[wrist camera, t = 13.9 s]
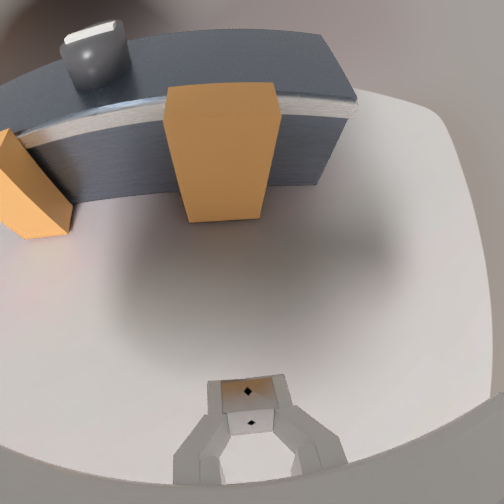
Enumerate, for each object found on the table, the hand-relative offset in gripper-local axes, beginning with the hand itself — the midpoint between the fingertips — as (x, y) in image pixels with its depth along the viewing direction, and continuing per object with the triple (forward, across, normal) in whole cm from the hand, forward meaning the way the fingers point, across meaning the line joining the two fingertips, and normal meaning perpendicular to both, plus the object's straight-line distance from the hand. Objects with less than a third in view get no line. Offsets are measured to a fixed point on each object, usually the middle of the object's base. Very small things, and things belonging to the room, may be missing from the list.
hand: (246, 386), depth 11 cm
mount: (+17, +8, -7) cm, 20 cm away
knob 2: (+17, 0, -8) cm, 19 cm away
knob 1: (+17, +15, -8) cm, 24 cm away
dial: (+11, +8, -14) cm, 19 cm away
